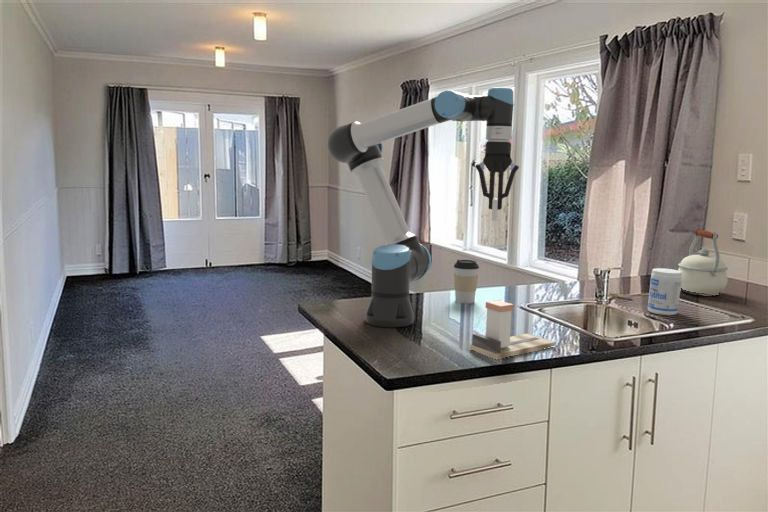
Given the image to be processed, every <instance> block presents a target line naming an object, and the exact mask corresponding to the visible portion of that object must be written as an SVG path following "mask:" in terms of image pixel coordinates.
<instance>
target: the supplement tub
mask: <svg viewBox="0 0 768 512" xmlns="http://www.w3.org/2000/svg"><path fill="white" fill-rule="evenodd" d="M681 279H682V272H681V271H678V270H677V269H671V268H664V267H663V268H660V267H659V268H658V267H657V268H652V270H651V275H650V281H649V282H650V284H649V293H648V302H647V311H648V312H650V313H653V314H655V315H664V316H675V315H677V313H678V312H679V303H680V295H681Z"/></svg>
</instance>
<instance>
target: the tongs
mask: <svg viewBox="0 0 768 512" xmlns="http://www.w3.org/2000/svg"><path fill="white" fill-rule="evenodd" d="M608 293H609V295H610V296H616V297H619V298H618V299H621V298H622V299H623V300H627V301H632V302H633V301H634V299H632V298H629V297H624V296H622V295H621V294H618V293H614V292H611V293H610V292H608ZM610 296H609V297H610ZM616 297H615V298H616Z"/></svg>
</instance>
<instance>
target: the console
mask: <svg viewBox="0 0 768 512" xmlns="http://www.w3.org/2000/svg"><path fill="white" fill-rule="evenodd" d="M471 340H472V341H471V344H470V347H469V350H470V349H471V350H474V351H476V352H475V353H477V352H479V353H481V354H480V355H482V354H483V355H482V356H484V355H486V356H485V357H487V356H488V357H487V358H490V357H491V358H490V359H492V358H493V359H492V360H495V359H496V360H495V361H498V360H497V359H499V360H502V359H501V358H504V359H506V358H505V357H508V358H510V357H509V356H513V355H518V356H520V355H519V354H522V355H526V354H525V353H527V354H530V353H529V352H531V353H535V352H534V351H536V352H538V350H540V351H543V350H542V349H544V348H548V347H551V346H556V342H555V341H552V340H549V339H547V338H543V337H540V336H537V335H535V334H531V333H523V334H517V335H512V336H511V335H510V346H509V347H504V348H501V341H498V340H495V339H492V338H489V337H486V335H483V334H481V333H478V332H477V333H472V339H471ZM471 350H470V351H471ZM474 351H473V352H474ZM479 353H478V354H479ZM513 357H514V356H513Z"/></svg>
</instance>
